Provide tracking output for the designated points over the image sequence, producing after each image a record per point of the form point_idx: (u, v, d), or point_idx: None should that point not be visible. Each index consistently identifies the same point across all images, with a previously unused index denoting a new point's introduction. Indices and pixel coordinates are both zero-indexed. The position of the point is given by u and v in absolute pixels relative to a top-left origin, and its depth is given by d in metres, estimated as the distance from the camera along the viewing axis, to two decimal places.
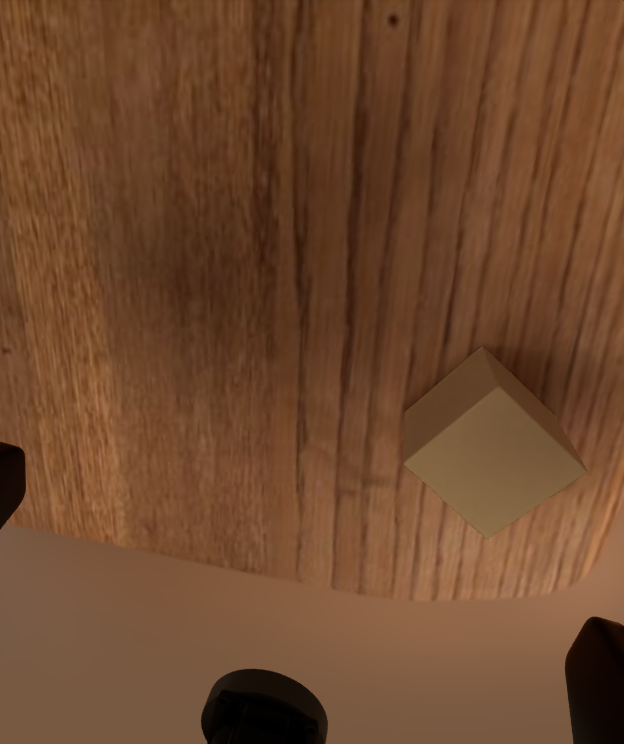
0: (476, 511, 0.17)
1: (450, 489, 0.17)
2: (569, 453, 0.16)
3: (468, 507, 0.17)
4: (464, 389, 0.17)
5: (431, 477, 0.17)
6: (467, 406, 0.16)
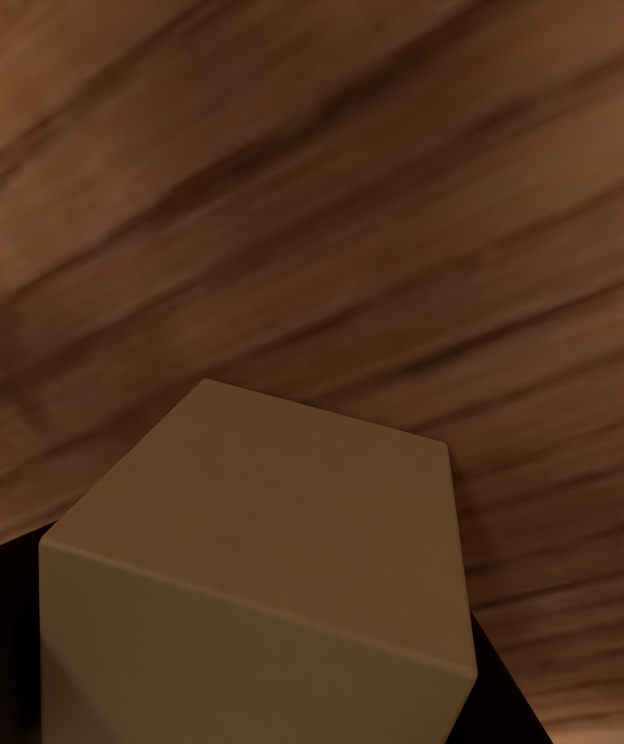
0: None
1: (79, 683, 0.05)
2: None
3: (75, 736, 0.05)
4: (363, 519, 0.06)
5: (69, 629, 0.05)
6: (346, 606, 0.05)
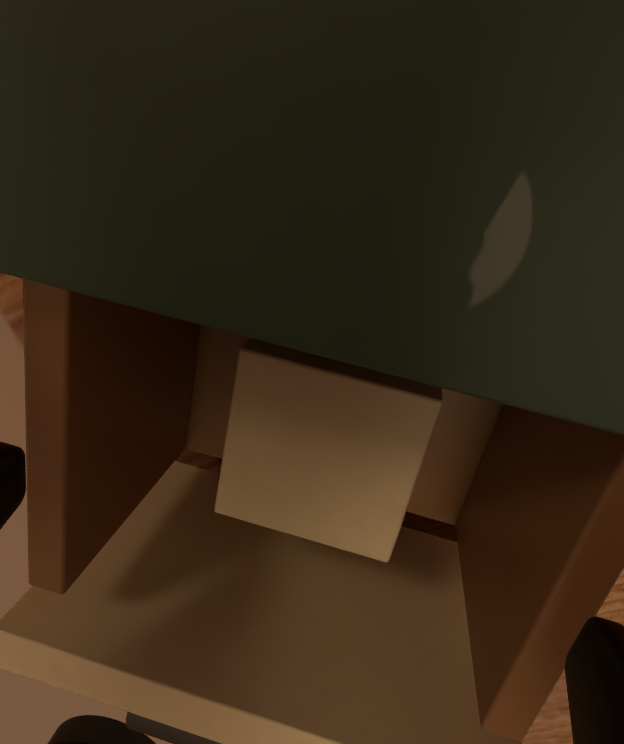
0: (243, 479, 0.11)
1: (248, 430, 0.10)
2: (398, 531, 0.11)
3: (240, 467, 0.11)
4: None
5: (248, 398, 0.10)
6: (383, 379, 0.10)
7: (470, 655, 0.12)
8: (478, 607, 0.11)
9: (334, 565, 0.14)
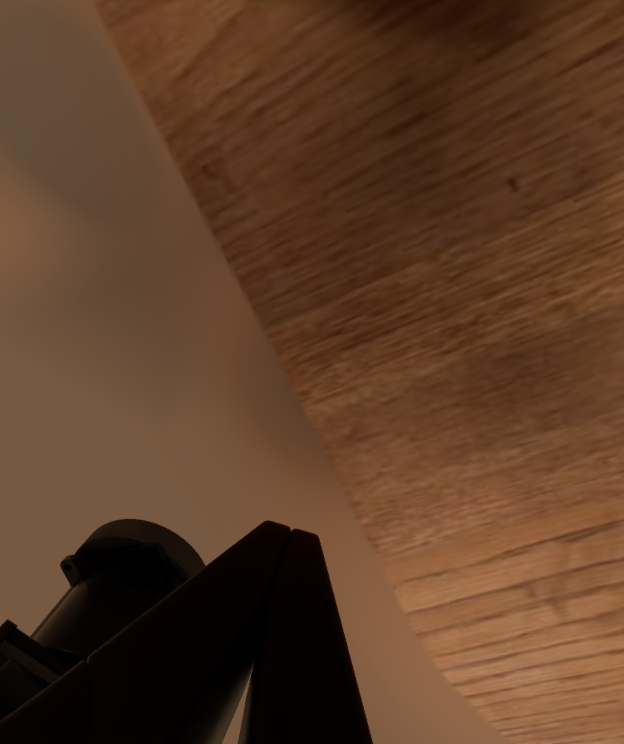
0: None
1: None
2: None
3: None
4: None
5: None
6: None
7: None
8: None
9: None
